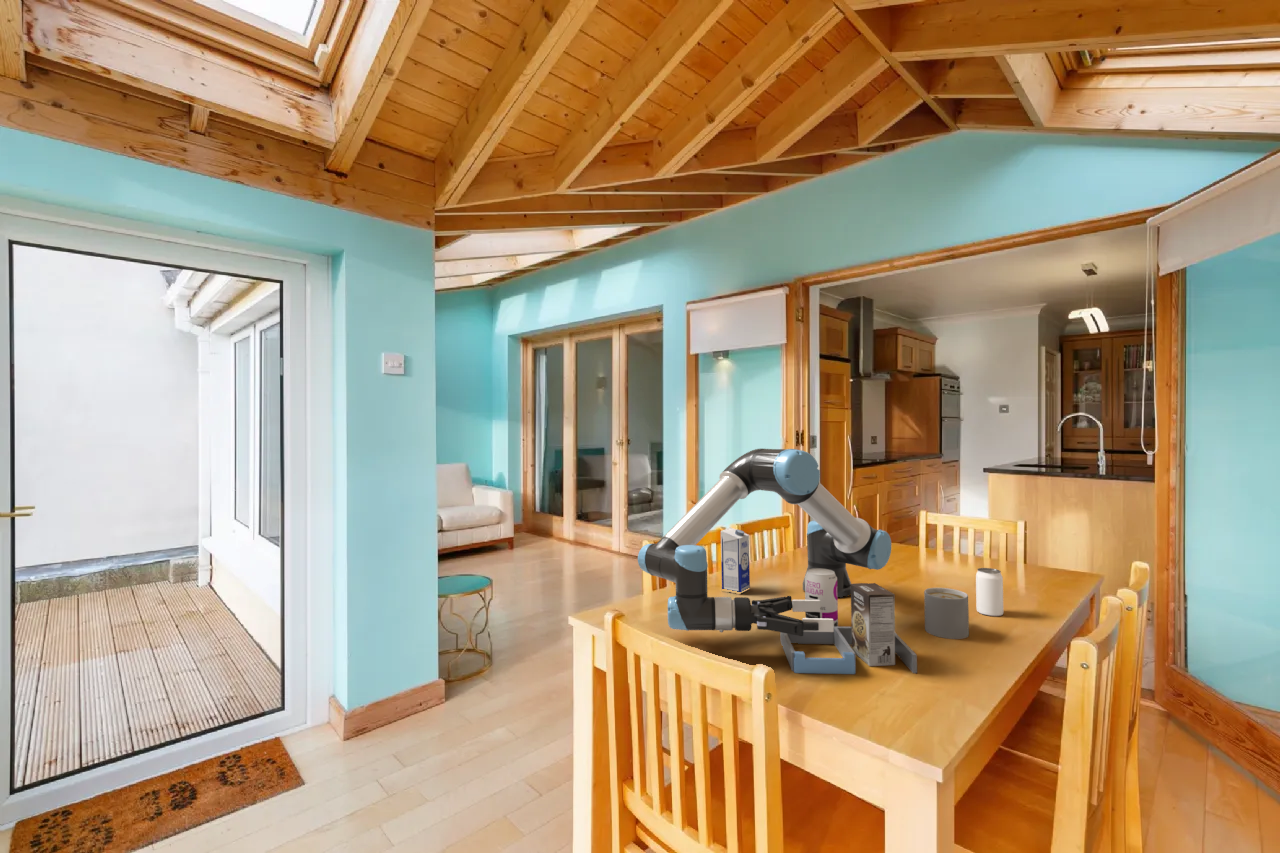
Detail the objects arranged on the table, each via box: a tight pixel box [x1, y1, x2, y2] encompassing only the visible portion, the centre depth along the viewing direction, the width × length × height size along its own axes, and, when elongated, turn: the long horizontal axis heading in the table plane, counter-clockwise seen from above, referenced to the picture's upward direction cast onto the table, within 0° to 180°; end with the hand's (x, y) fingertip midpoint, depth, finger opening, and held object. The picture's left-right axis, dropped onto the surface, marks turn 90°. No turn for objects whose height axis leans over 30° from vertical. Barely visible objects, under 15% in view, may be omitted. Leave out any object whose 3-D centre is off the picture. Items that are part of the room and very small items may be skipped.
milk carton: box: [720, 527, 751, 592], centre depth 188 cm, size 7×7×20 cm
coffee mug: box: [923, 587, 970, 640], centre depth 150 cm, size 13×10×10 cm
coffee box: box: [850, 582, 896, 667], centre depth 133 cm, size 9×6×16 cm
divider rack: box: [779, 626, 918, 675], centre depth 133 cm, size 18×26×4 cm
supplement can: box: [804, 568, 839, 627], centre depth 153 cm, size 8×8×15 cm
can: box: [975, 567, 1004, 617], centre depth 162 cm, size 6×6×12 cm
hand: (826, 615), depth 134 cm, fingers open, 13 cm apart
